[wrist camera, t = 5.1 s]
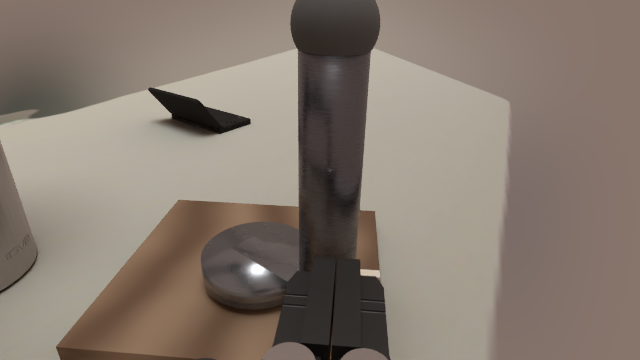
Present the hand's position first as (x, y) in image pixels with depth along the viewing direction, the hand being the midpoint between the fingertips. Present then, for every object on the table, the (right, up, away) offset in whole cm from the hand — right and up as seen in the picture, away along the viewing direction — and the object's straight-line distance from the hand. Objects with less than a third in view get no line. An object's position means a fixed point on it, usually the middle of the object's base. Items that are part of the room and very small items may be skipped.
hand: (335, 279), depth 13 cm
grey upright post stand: (-3, -3, +12) cm, 13 cm away
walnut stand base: (-5, -4, +15) cm, 16 cm away
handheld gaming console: (-18, +11, +46) cm, 51 cm away
